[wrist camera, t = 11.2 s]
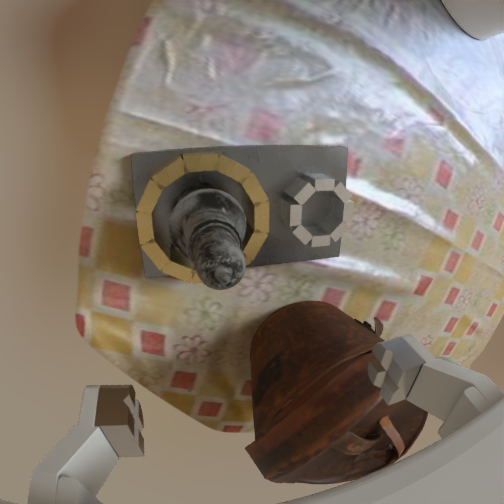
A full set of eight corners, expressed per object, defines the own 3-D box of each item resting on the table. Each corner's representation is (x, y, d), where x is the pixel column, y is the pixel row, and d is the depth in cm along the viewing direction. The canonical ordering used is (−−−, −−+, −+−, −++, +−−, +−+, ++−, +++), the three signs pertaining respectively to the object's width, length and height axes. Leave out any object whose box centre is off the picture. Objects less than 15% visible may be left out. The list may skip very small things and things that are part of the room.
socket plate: (132, 153, 24) (126, 158, 21) (342, 146, 28) (362, 150, 25) (146, 272, 28) (143, 291, 25) (334, 252, 32) (351, 267, 29)
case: (351, 384, 43) (411, 474, 27) (217, 401, 38) (248, 524, 21) (389, 277, 36) (491, 364, 20) (226, 280, 31) (281, 429, 15)
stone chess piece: (189, 257, 28) (203, 345, 17) (156, 201, 25) (144, 263, 14) (248, 226, 28) (297, 296, 17) (219, 167, 25) (255, 204, 15)
